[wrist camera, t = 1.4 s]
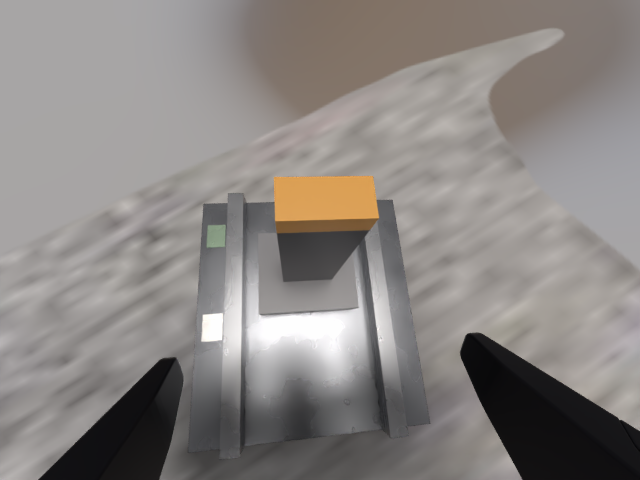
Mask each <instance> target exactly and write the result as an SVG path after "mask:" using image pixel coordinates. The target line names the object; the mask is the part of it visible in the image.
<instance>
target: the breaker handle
mask: <svg viewBox="0 0 640 480" xmlns="http://www.w3.org/2000/svg"><path fill="white" fill-rule="evenodd" d="M274 197H275V224H276V231H277V233H258V288H259V315H276V314H291V313H306V312H320V311H335V310H350V309H356V308H359V304H358V295H357V286H356V277H355V268H354V259H353V252H354V250H355V249H356V248H357V246H358V245H359V244H360V242H361V241H362V240H363V239H364V237H365V236H366V235H367V233H368V232H369V231H370V229H371V228H372V227H373V226H374V224H375V223H376V222H377V220H378V219H379V214H378V207H377V201H376V194H375V187H374V181H373V176H335V177H274Z"/></svg>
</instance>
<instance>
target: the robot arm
mask: <svg viewBox="0 0 640 480" xmlns="http://www.w3.org/2000/svg"><path fill="white" fill-rule="evenodd" d="M460 356H461V359H462V361H463V364H464V366H465V368H466V370H467V373H468V375H469V377H470V380H471V382H472V384H473V386H474V389H475V391H476V393H477V396H478V398H479V400H480V402H481V404H482V406H483V408H484V410H485V412H486V414H487V416H488V417H489V419H490V421H491V423H492V425H493V427H494V428H495V430H496V432H497V434H498V436H499V437H500V439H501V441H502V443H503V445H504V447H505V448H506V450H507V452H508V454H509V456H510V457H511V459H512V461H513V463H514V465H515V467H516V468H517V470H518V472H519V474H520V476H521V477H522V479H523V480H640V431H639V430H637V429H635V428H634V427H632V426H630V425H629V424H627V423H626V422H624V421H622V420H619V419H618V418H617V417H616V416H614V415H613V414H611V413H609V412H608V411H606V410H605V409H603V408H601V407H600V406H598V405H596V404H595V403H593V402H592V401H590V400H588V399H587V398H585V397H584V396H582V395H580V394H579V393H577V392H575V391H574V390H572V389H571V388H569V387H567V386H566V385H564V384H563V383H561V382H559V381H558V380H556V379H554V378H553V377H551V376H550V375H548V374H546V373H545V372H543V371H542V370H540V369H538V368H537V367H535V366H533V365H532V364H530V363H529V362H527V361H525V360H524V359H522V358H521V357H519V356H517V355H516V354H514V353H512V352H511V351H509V350H508V349H506V348H504V347H503V346H501V345H500V344H498V343H496V342H495V341H493V340H491V339H490V338H488V337H487V336H485V335H483V334H482V333H468V334H467V335H466V336H465V338H464V341H463V344H462V347H461V350H460ZM182 387H183V373H182V370H181V367H180V363H179V360H178V359H177V358H176V357H171V358H163V359H161V360H159V361H158V362H157V363H156V364H155V365H154V366H153V367H152V368H151V369H150V370H149V371H148V372H147V373H146V374H145V375H144V376H143V377H142V378H141V379H140V380H139V381H138V382H137V383H136V384H135V385H134V386H133V387H132V388H131V389H130V390H129V391H128V392H127V393H126V394H125V395H124V396H123V397H122V398H121V399H120V400H119V401H118V402H117V403H116V404H115V405H114V406H112V407H111V408H110V409H109V410H108V411H107V412H106V413H105V414H104V415H103V416H102V417H101V418H100V419H99V420H98V421H97V422H96V423H95V424H94V425H93V426H92V427H91V428H90V429H89V430H88V431H87V432H86V433H85V434H84V435H83V436H82V437H81V438H80V439H79V440H78V441H77V442H76V443H75V444H74V445H73V446H72V447H71V448H70V449H69V450H68V451H67V452H66V453H65V454H64V455H63V456H62V457H61V458H60V459H59V460H58V461H57V462H56V463H55V464H54V465H53V466H52V467H51V468H50V469H49V470H48V471H47V472H46V473H45V474H43V475H42V476H41V477H40V478H39V479H38V480H159V478H160V475H161V472H162V469H163V466H164V462H165V459H166V456H167V453H168V450H169V446H170V443H171V439H172V434H173V430H174V425H175V420H176V415H177V411H178V406H179V401H180V396H181V391H182Z"/></svg>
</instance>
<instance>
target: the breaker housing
mask: <svg viewBox="0 0 640 480" xmlns="http://www.w3.org/2000/svg"><path fill="white" fill-rule="evenodd" d="M376 201H377V207H378V214H379V219H378V220H377V222H376V223H375V224H374V226H373V227H372V228H371V229H370V231H369V232H368V233H367V235H366V236H365V237H364V239H363V240H362V241H361V242H360V244H359V245H358V246H357V248H356V249H355V250H354V252H353V259H354V268H355V277H356V286H357V295H358V304H359V308H356V309H350V310H335V311H320V312H306V313H291V314H276V315H259V288H258V233H277V231H276V224H275V202H266V203H246V200H245V197H244V194H243V193H228V203H219V204H204V205H203V221H202V237H201V253H200V269H199V285H198V301H197V317H196V333H195V350H194V366H193V382H192V398H191V414H190V430H189V446H188V453H191V452H199V451H207V450H216V449H220V453H219V460H222V459H230V458H238V457H240V455H241V453H242V450H243V448H244V446H249V445H257V444H265V443H274V442H282V441H290V440H299V439H307V438H315V437H323V436H332V435H340V434H348V433H357V432H365V431H373V430H383V431H384V432H385V433H386V434H387V435H388V436H389V437H390V438H398V437H406V436H408V430H407V426H415V425H423V424H430V420H429V414H428V408H427V402H426V396H425V390H424V384H423V378H422V372H421V366H420V360H419V354H418V348H417V342H416V337H415V331H414V325H413V319H412V313H411V307H410V301H409V295H408V289H407V283H406V277H405V271H404V265H403V259H402V253H401V247H400V241H399V235H398V230H397V224H396V218H395V212H394V206H393V200H376Z"/></svg>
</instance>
